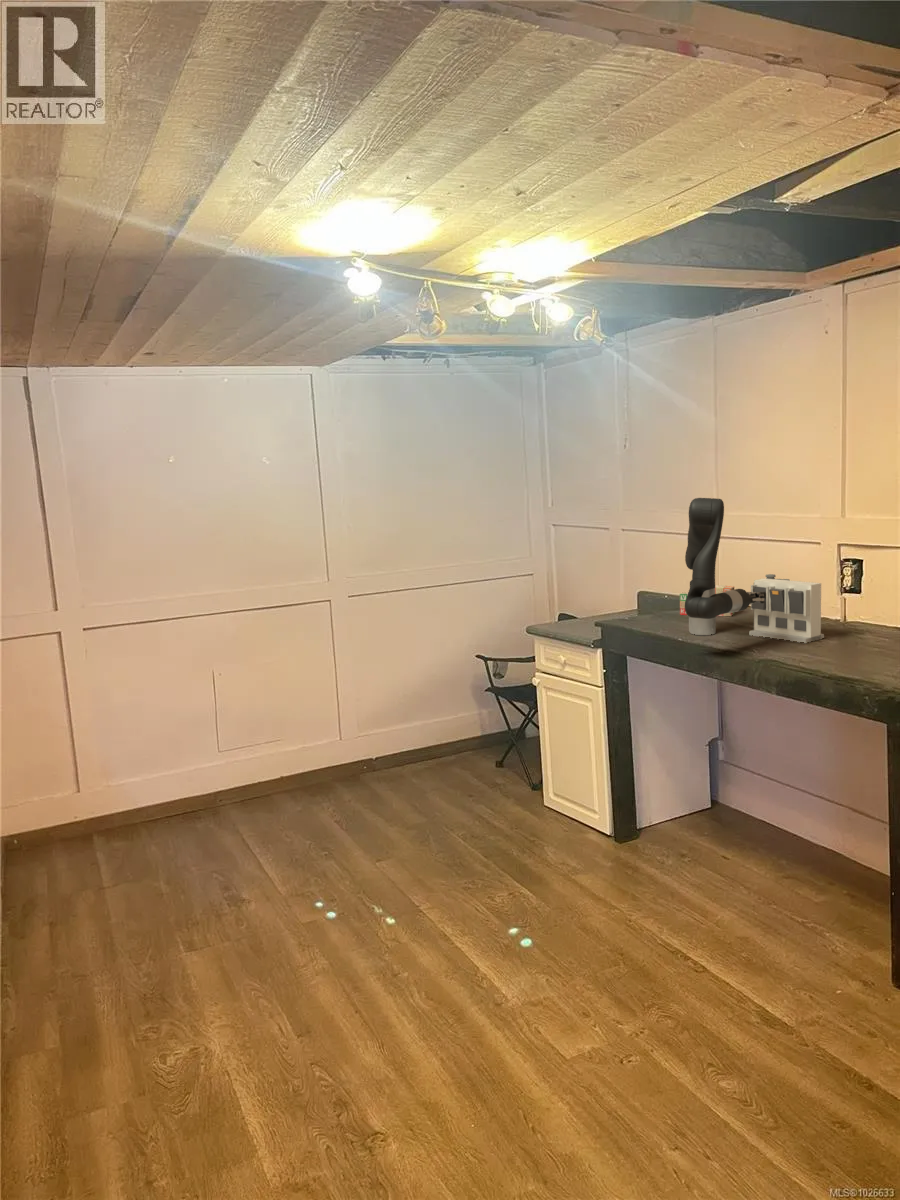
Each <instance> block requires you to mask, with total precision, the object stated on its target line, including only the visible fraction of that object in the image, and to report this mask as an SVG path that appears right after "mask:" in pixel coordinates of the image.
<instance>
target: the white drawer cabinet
mask: <svg viewBox="0 0 900 1200" xmlns="http://www.w3.org/2000/svg"><path fill="white" fill-rule="evenodd" d="M777 579H778V578H775V579H766V577H765V578H760V579H755V580H753V584H751V585H750V592H752V593H753V592H754V587H765V588H766V610H760V609H753V608H751V606H752V604H751V605H750V610H752V611H753V629H752V630H751V629H750V630H749V631H748V632H749V635H748V636H752V635H753V637H759V636H763V637H762V638H765V637H770V638H769V639H772V638H777V639H776V640H779V639H784V640H783V641H786V640H790V641H789V642H793V641H797V642H796V643H800V642H804V643H803V644H808V643H807V642H809V643H812V642H811V641H813V642H815V640H816V641H820V640H822V638H824V639H825V634H824V633H822V624H821V623H822V583H821V582H820V583H819V582H813V581H812V582H810V581H801V580H799V581H798V580H790V579H789V580H790V581H789V580H777ZM771 588H774V589H784V592H785V595H784V612H779V611H772V605H771V599H770V592H769V590H770V589H771ZM790 590H795V591H803V593H804V614H797V613H791V610H790V603H789V596H788V591H790ZM819 639H820V640H819Z"/></svg>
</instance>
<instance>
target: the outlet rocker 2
mask: <svg viewBox="0 0 900 1200" xmlns="http://www.w3.org/2000/svg"><path fill="white" fill-rule="evenodd" d="M788 596H789V603H790V610H791V613H797V614H804V593H803V591H795V590H790V591H788Z"/></svg>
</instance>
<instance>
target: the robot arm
mask: <svg viewBox="0 0 900 1200" xmlns="http://www.w3.org/2000/svg"><path fill="white" fill-rule="evenodd" d="M724 503H725V502H724V501H723V499H721V498H712V497H696V498H693V499H692V500H691V502H690V503H689V507H688V525H689V526H688V532H687V547H686V551H685V557H684V558H685V559H684V561H685V565H686V567H687V568H688V569H689V570H690V571H691V570H692V572H691V573H692V576H691V579H690V581H689V588H688V589H689V590H688V591H687V592H688V595H687V598H686V601H685V612H686V614H687V615H686V616H688V632H689V633H690V634H691V635H694V634H695V636H711V634H712V635H715V634H716V632H717V630H716V625H717V623H716V621H717V620H716V619H717V618H716V617H717V616H718V615H720V614H725V613H733V612H734V613H738V612H741V611H745V610H747V609H748V608H749V606H751V604H753V603H756V602H757V601H759V603H764V598H766V592H757V593H756V592H753V593H752V592H751V591H746V590H745V589H743V588H736V589H735V588H734V590H730V591H725V592H723V593H718V594H715V585H716V563H717V556H718V551H719V546H720V541H721V534H722V529H723V523H724V518H725V517H724V516H725V504H724Z"/></svg>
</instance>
